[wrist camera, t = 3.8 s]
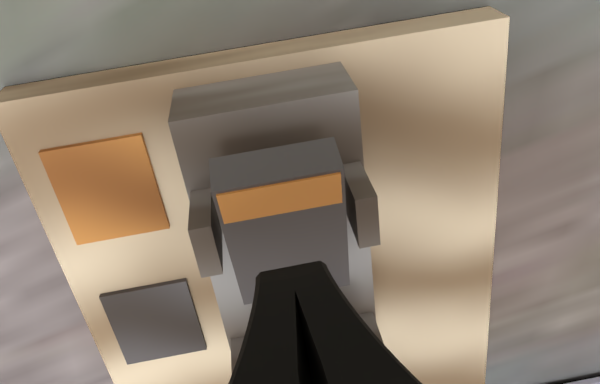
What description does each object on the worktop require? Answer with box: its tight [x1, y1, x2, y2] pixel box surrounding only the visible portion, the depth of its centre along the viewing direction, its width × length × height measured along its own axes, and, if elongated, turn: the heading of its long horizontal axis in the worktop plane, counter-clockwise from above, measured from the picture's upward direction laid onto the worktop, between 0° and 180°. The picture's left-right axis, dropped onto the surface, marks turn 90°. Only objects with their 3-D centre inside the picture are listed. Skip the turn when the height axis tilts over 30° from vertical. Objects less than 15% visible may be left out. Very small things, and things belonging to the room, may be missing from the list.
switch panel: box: [0, 6, 510, 384], centre depth 21 cm, size 19×16×6 cm
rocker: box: [209, 137, 350, 305], centre depth 15 cm, size 5×3×1 cm
